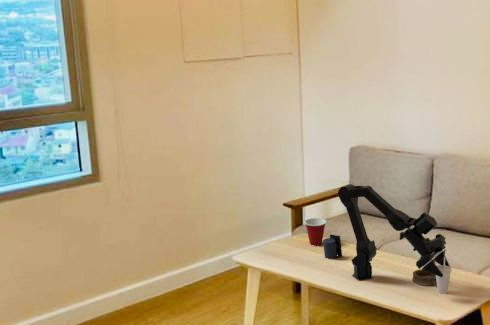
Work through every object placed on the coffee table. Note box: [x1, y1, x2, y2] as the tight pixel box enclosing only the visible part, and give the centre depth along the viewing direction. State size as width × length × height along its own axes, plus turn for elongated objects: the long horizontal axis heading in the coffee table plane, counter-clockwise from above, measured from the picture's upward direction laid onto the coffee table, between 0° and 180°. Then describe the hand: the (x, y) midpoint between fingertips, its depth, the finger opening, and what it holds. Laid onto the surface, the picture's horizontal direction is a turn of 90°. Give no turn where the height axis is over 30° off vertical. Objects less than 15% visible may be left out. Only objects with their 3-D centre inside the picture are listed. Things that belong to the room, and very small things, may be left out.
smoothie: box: [436, 256, 453, 294], centre depth 242 cm, size 6×6×14 cm
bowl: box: [412, 268, 437, 287], centre depth 255 cm, size 12×12×3 cm
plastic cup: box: [304, 217, 327, 246], centre depth 310 cm, size 11×11×12 cm
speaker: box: [322, 234, 343, 260], centre depth 289 cm, size 8×6×10 cm
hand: (446, 273), depth 241 cm, fingers open, 9 cm apart
